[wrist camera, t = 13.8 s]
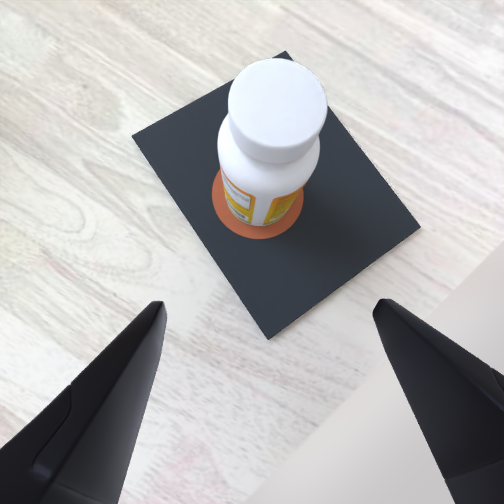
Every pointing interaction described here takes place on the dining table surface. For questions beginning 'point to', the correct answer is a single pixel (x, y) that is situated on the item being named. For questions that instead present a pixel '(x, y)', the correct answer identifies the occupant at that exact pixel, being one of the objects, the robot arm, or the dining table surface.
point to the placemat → (286, 228)
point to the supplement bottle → (270, 138)
